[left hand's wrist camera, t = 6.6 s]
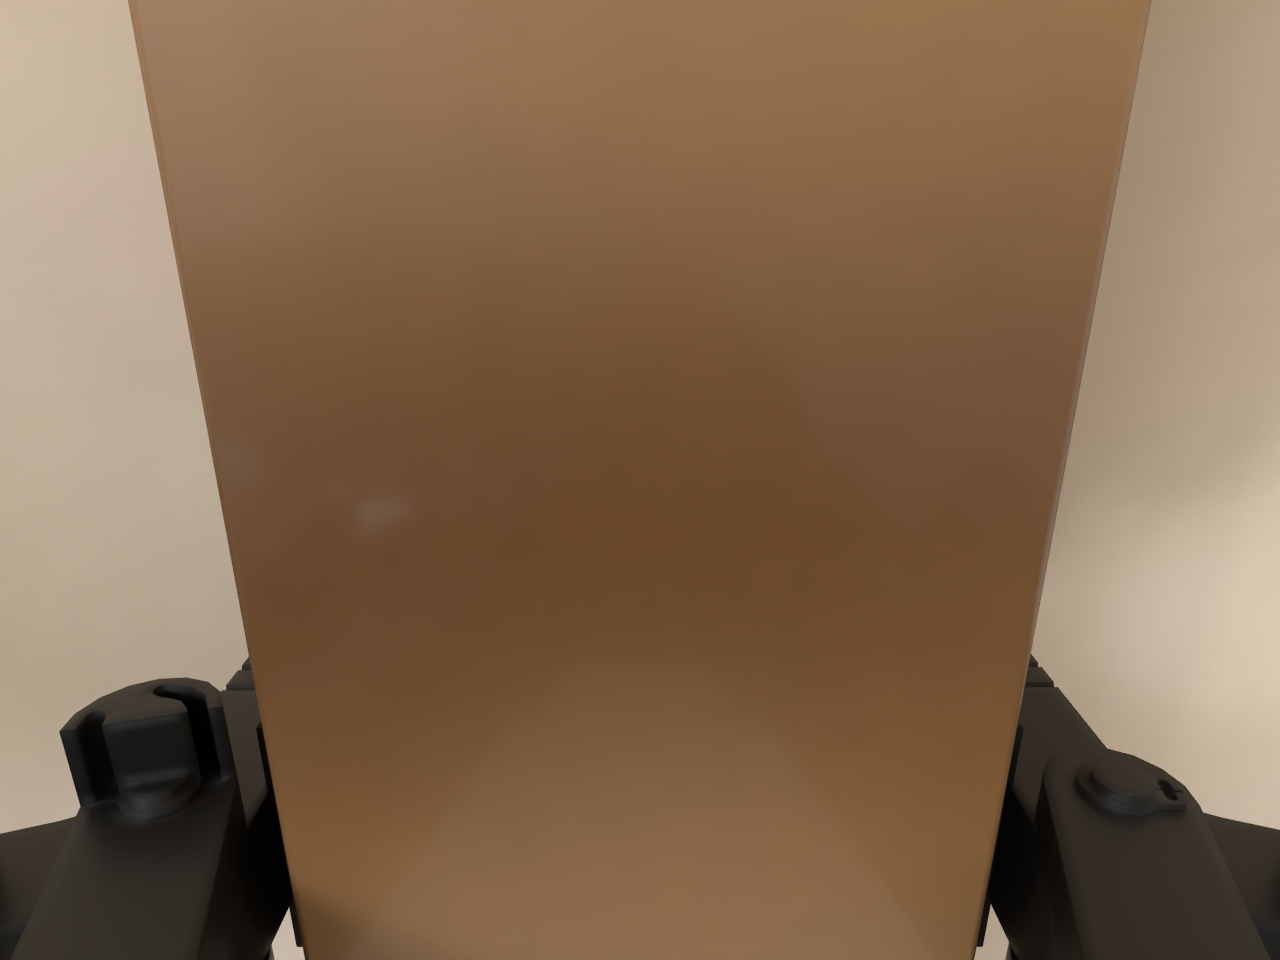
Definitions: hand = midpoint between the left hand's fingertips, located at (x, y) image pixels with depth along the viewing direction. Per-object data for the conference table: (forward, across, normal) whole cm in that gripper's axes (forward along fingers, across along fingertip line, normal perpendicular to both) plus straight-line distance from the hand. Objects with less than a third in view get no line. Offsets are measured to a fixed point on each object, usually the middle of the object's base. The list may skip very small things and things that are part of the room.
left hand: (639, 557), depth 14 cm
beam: (+1, 0, -20) cm, 20 cm away
